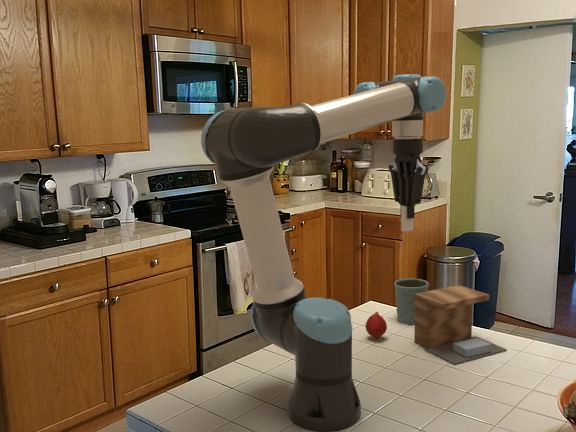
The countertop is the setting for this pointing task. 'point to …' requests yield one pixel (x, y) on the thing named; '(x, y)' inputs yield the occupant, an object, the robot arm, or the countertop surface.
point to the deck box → (471, 347)
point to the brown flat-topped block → (445, 315)
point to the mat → (456, 358)
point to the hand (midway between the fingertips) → (407, 230)
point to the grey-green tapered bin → (408, 298)
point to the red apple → (376, 325)
